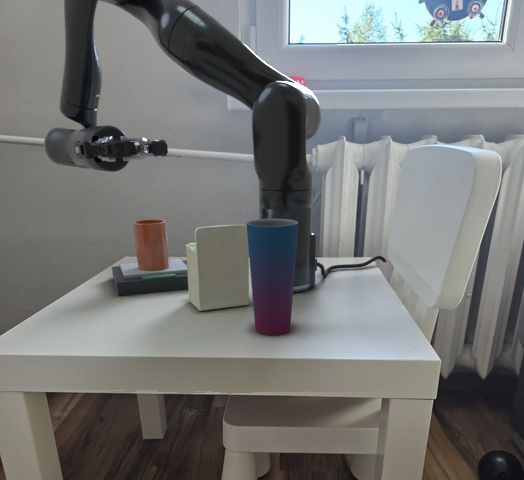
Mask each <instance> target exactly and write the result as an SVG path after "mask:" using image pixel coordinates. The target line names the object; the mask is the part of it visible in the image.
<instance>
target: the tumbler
mask: <svg viewBox="0 0 524 480" xmlns="http://www.w3.org/2000/svg"><path fill="white" fill-rule="evenodd" d="M132 228H133V236H134V246H135V253H136V263H137V264H138V269H139V270H142V271H159V270H164V269H167V268H169V267H170V260H171V259H170V251H169V238H168V226H167V221H166V220H165V219H157V218H155V219H153V218H152V219H151V218H150V219H142V220H141V219H139V220H134V221H133V222H132Z"/></svg>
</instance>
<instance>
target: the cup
mask: <svg viewBox="0 0 524 480" xmlns="http://www.w3.org/2000/svg"><path fill="white" fill-rule="evenodd" d="M245 225H246V226H247V236H248V254H249V269H250V271H249V272H250V282H251V293H252V295H251V296H252V305H253V317H254V329H255V332H257V333H258V334H261V335H264V336H279V335H285V334H287V333H289V332H290V331H291V325H292V311H293V299H294V298H293V297H294V292H293V285H294V272H295V258H296V245H297V231H298V222H297V221H295V220H289V219H253V220H248V221H247V222H246V223H245Z"/></svg>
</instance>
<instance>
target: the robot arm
mask: <svg viewBox="0 0 524 480" xmlns="http://www.w3.org/2000/svg"><path fill="white" fill-rule="evenodd" d="M98 2H101V3H102V2H103V3H106V4H110V5H113V6H115V7H118V8H119V9H122V10H123V11H125V12H126V13H128V14H129V15H131V16H132V17H133V18H135V19H137V20H138V21H139V22H141V23H142V24H143V25H144V26H145V27H146V28H147V29H148V30H149V32H150V34H151V35H152V37H153V39H154V41H155V43H156V44H157V46H158V47H159V48H160V50H161V51H162V52H163V53H164V54H165V55H166V56H167V57H168V58H169V59H170V60H172V62H174V63H175V64H177V65H178V66H179V67H180V68H182V69H183V70H184V71H185V72H186V73H188V75H190V76H192V77H194V78H195V79H196V80H198V81H200V82H201V83H204V84H206V85H207V86H210V87H211V88H212V89H215V90H216V91H219V92H221V93H223V94H225V95H227V96H229V97H231V98H234V99H235V100H237V101H239V102H240V103H242V104H243V105H244V106H246V107H247V108H248V109H250V111H252V112H251V136H252V137H251V138H252V151H253V166H254V170H255V173H256V176H257V179H258V207H259V208H258V212H259V213H258V214H259V219H289V220H295V221H297V222H298V231H297V245H296V258H295V272H294V285H293V293H300V292H303V291H308V290H309V289H314V288H315V287H316V272H317V271H318V268H319V269H320V274H321V276H322V277H324V278H325V277H327V276H328V275H329V273H330V272H331V271H333V270H336V269H356V268H357V269H358V268H364V267H366V266H368V265H370V264H372V263H373V262H375V261H377V260H380V261H382V263H387V262H388V261H387V259H386V258H385V257H384V256H383V255H375V256H373V257H371V258H370V259H369V260H367V261H365V262H362V263H350V264H347V263H346V264H333V265H331V266H328V268H325V266H324V265H323V264H322V263H320V262H318V258H317V235H316V234H315V233H314V232H313V194H314V193H313V192H314V173H313V171H312V169H311V168H310V166H309V164H308V159H307V142H308V141H310V140H311V139H313V138H314V137H315V135H316V134H317V133H318V131H319V129H320V127H321V124H322V123H321V122H322V111H321V106H320V104H319V101H318V99H317V97H316V96H315V95H314V93H313V92H312V91H311V89H308V87H305V86H304V85H301V84H300V83H299V82H296V81H294V80H293V79H291V78H289V77H288V76H286V75H285V74H282V73H281V72H280V71H278V70H276V69H275V68H274V67H272V66H270V65H269V64H267V63H266V62H265V61H264V60H262V58H260V57H259V56H258V55H256V54H255V53H254V52H253V51H252V50H251V49H250V48H249V46H247V45H246V44H245V43H244V42H243V41H241V40H240V39H239V38H238V37H237V36H236V35H235V34H234V33H233V32H231V31H230V30H229V29H227V27H225V26H224V25H223V24H222V23H221V22H220V21H219V20H217V19H216V18H214V16H212V15H211V14H210V13H208V12H207V11H206V10H204V9H203V8H202V7H201V6H199V5H197V4H196V3H194V2H193V1H192V0H63V17H64V18H63V19H64V21H63V22H64V64H63V72H62V81H61V87H60V88H61V89H60V95H59V103H58V104H59V105H58V106H59V112H60V113H61V114H62V116H64V117H65V118H66V119H69V120H70V121H73V122H75V123H77V124H79V125H81V129H73V128H68V127H62V126H61V127H60V126H55V127H52V128H50V129H49V130H48V132H46V135H45V137H44V140H43V148H44V149H43V150H44V152H45V155H46V157H47V158H48V159H49V160H50V161H51V162H52V163H53V164H55V165H60V166H66V167H73V168H79V169H85V170H89V169H91V170H94V171H99V172H102V171H103V172H110V173H112V172H114V173H115V172H118V171H119V172H120V171H122V170H123V169H124V168H126V167H127V165H128V164H129V163H130V162H132V161H134V160H148V158H149V157H154V158H158V157H162V158H164V157H165V158H166V156H168V154H169V148H168V143H167V140H165V139H160V140H156V139H152V140H151V139H146V137H131V136H128V135H126V133H124V131H123V130H121V128H119V127H116V126H114V125H109V124H108V125H98V111H99V105H100V99H101V94H102V87H103V86H102V85H103V73H102V66H101V61H100V57H99V53H98V47H97V43H96V38H95V37H96V36H95V18H96V17H95V16H96V11H97V6H98Z"/></svg>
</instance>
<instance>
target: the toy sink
mask: <svg viewBox="0 0 524 480" xmlns="http://www.w3.org/2000/svg"><path fill="white" fill-rule="evenodd" d="M185 251H186V254H185V255H186V260H187V273H188V289H187V290H188V300H189V302H190V303H191V304H192V305H193V306H194V307H195V308H196V309H197V310H198V311H200V312H201V311H210V310H218V309H225V308H234V307H240V306H248V305H249V304H250V289H249V288H250V277H249V276H250V275H249V273H250V271H249V269H250V260H249V248H248V236H247V225H246V224H223V225H209V226H200V227H197V228H195V230H194V242H189V243H186V244H185Z"/></svg>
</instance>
